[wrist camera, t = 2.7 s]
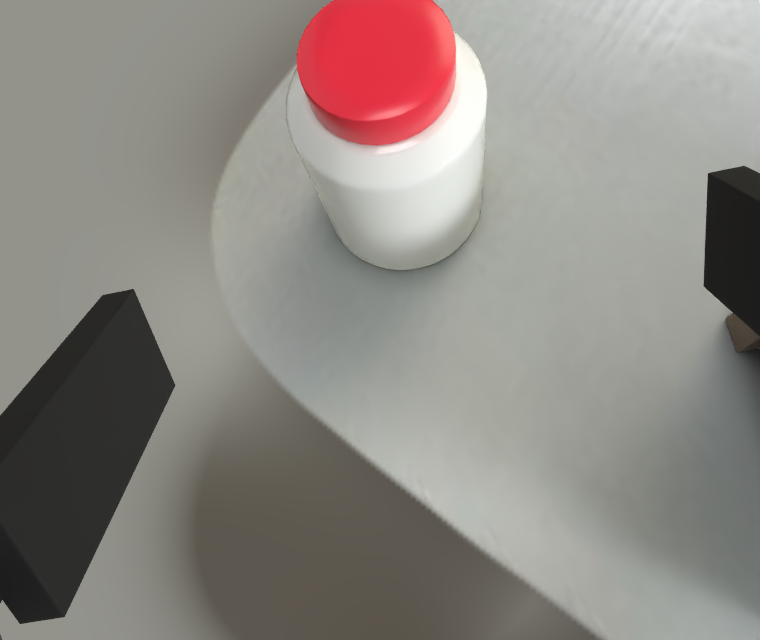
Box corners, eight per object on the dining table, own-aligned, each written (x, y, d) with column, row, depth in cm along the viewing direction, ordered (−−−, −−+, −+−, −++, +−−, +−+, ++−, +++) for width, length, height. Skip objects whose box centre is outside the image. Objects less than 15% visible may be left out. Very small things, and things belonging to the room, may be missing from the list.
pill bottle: (320, 148, 33) (253, -14, 23) (465, 117, 33) (465, -64, 22) (340, 284, 31) (276, 173, 21) (496, 254, 30) (512, 123, 20)
